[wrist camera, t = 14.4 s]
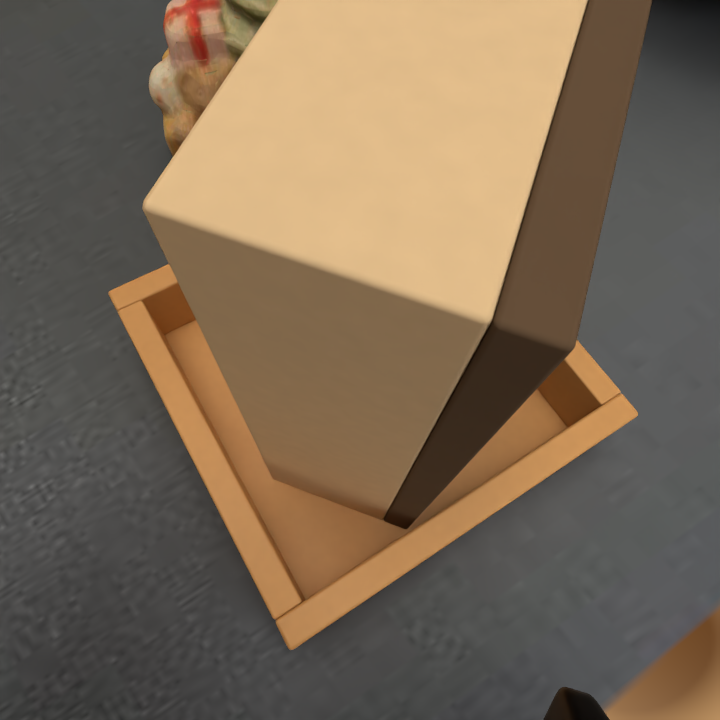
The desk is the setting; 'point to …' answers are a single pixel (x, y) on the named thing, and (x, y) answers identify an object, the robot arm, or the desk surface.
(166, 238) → the back pad
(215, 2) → the ornament
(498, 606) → the desk surface
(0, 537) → the desk surface
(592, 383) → the mount frame
